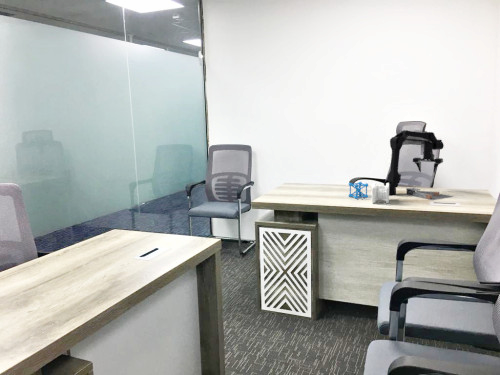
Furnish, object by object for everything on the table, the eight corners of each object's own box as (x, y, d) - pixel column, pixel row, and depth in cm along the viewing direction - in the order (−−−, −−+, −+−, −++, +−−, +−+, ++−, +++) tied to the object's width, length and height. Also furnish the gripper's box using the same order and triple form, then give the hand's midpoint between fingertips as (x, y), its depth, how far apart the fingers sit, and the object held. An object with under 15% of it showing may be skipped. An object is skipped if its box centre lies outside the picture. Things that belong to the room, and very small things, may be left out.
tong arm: (416, 194, 276) (416, 191, 275) (416, 194, 277) (416, 190, 277) (438, 196, 269) (438, 192, 268) (439, 195, 270) (439, 191, 270)
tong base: (406, 194, 278) (406, 187, 278) (412, 193, 281) (412, 186, 280) (429, 199, 261) (429, 191, 260) (435, 198, 263) (435, 190, 262)
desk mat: (432, 201, 257) (432, 200, 257) (402, 194, 280) (402, 193, 280) (454, 197, 266) (454, 196, 265) (423, 191, 288) (423, 190, 288)
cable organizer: (388, 204, 252) (389, 186, 250) (371, 204, 255) (371, 185, 253) (388, 199, 266) (389, 182, 264) (372, 199, 269) (372, 182, 267)
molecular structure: (347, 196, 280) (347, 182, 278) (360, 195, 283) (360, 181, 281) (355, 199, 271) (355, 184, 269) (368, 198, 273) (369, 183, 272)
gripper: (445, 149, 282) (444, 171, 284) (417, 149, 293) (416, 170, 296) (441, 150, 273) (440, 173, 276) (412, 150, 285) (412, 172, 287)
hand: (427, 172), depth 284 cm, fingers open, 9 cm apart
